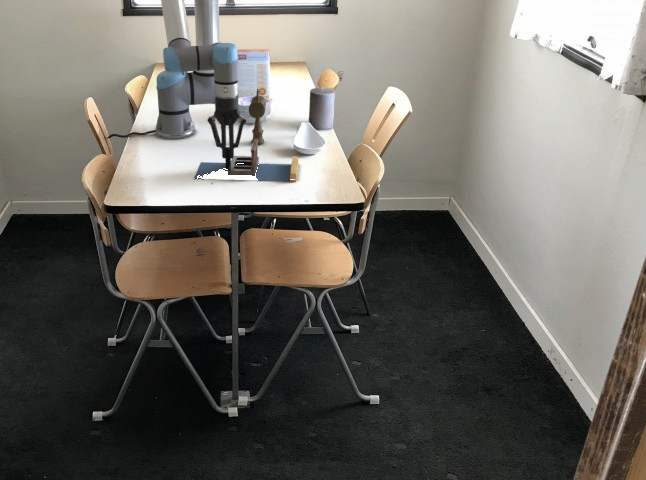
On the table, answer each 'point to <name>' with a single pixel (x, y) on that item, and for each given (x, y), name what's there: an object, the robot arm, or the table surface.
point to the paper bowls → (244, 108)
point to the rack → (245, 162)
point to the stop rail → (294, 169)
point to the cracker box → (253, 72)
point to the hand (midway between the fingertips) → (228, 167)
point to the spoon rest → (308, 139)
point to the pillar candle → (321, 108)
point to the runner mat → (263, 173)
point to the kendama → (257, 116)
